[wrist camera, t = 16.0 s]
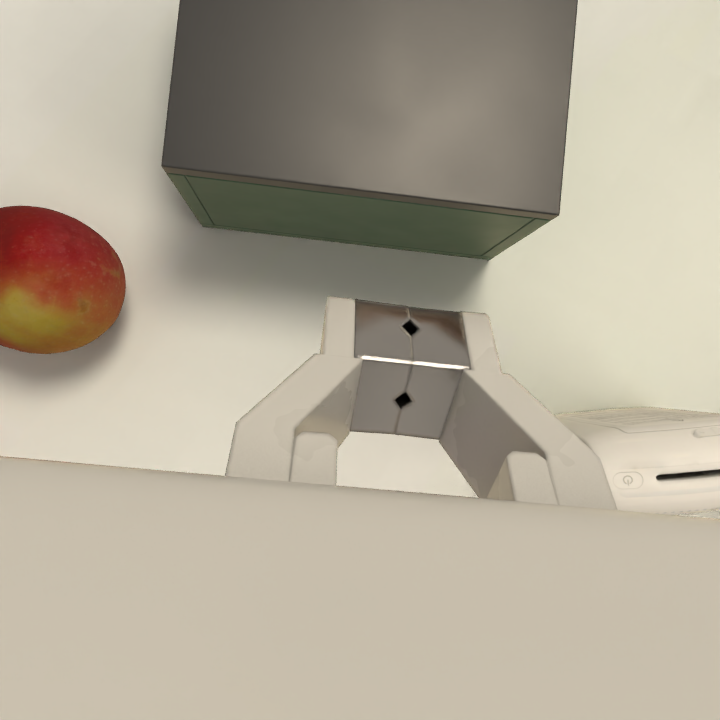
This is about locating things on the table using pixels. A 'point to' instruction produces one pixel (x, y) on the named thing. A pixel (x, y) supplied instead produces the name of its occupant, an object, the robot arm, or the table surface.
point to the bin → (351, 218)
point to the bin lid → (377, 98)
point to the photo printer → (655, 456)
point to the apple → (55, 281)
